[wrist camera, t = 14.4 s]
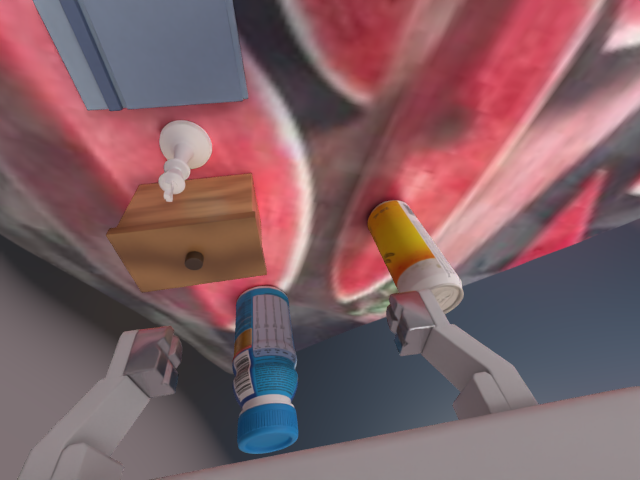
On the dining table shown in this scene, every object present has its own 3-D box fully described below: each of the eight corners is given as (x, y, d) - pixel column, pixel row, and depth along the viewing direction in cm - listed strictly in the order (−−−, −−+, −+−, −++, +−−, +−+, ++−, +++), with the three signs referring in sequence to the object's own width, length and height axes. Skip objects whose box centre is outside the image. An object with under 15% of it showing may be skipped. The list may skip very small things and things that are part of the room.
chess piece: (212, 125, 30) (201, 172, 23) (211, 169, 33) (200, 225, 26) (157, 115, 29) (126, 162, 21) (161, 163, 32) (134, 219, 24)
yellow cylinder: (357, 225, 42) (397, 315, 31) (384, 190, 39) (439, 275, 28) (389, 238, 45) (437, 324, 33) (417, 206, 42) (479, 290, 30)
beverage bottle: (285, 278, 46) (302, 422, 31) (292, 311, 52) (309, 446, 37) (228, 288, 45) (219, 440, 30) (242, 321, 51) (239, 462, 36)
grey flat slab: (34, -7, 22) (23, -6, 21) (230, -13, 24) (229, -13, 23) (91, 108, 27) (84, 113, 26) (248, 96, 29) (248, 101, 28)
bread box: (135, 182, 32) (101, 242, 25) (254, 170, 34) (255, 223, 27) (160, 236, 37) (138, 300, 30) (263, 224, 39) (267, 281, 31)
